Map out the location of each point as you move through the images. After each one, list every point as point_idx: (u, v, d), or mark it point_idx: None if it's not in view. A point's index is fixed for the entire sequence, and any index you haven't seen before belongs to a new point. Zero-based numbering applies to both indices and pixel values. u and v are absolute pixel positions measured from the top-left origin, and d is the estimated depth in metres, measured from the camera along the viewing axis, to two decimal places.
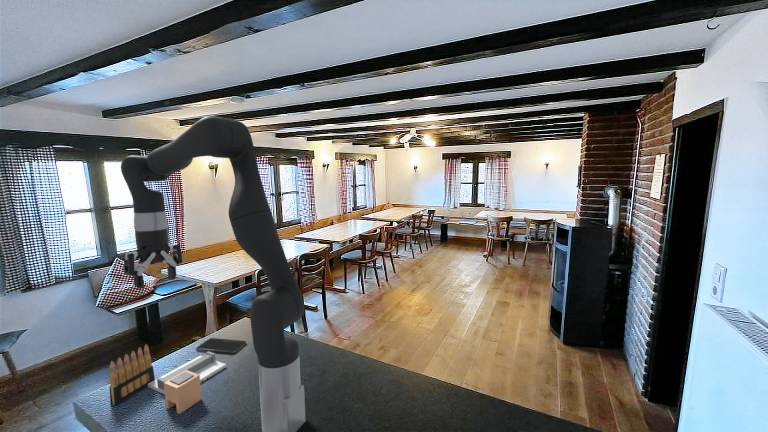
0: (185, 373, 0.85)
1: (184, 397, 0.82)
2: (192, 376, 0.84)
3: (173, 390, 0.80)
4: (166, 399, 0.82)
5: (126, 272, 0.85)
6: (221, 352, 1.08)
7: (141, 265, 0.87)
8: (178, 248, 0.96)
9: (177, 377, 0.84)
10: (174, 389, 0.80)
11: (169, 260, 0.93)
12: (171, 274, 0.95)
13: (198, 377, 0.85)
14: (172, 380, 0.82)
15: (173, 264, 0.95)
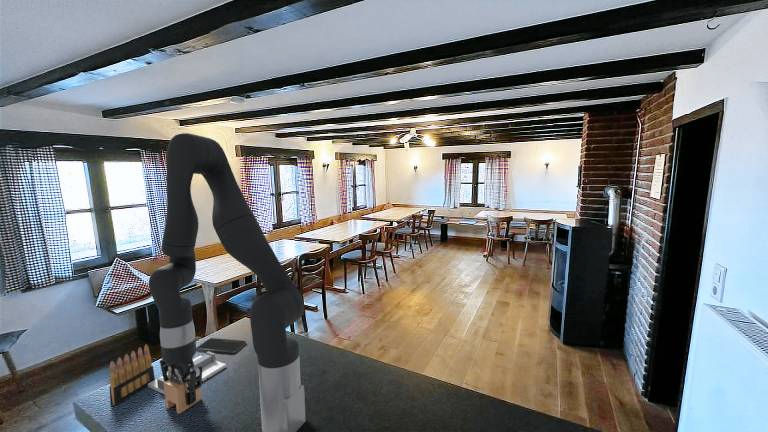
0: None
1: (184, 397, 0.82)
2: None
3: (173, 390, 0.80)
4: (166, 399, 0.82)
5: (195, 387, 0.81)
6: (221, 352, 1.08)
7: None
8: None
9: (177, 377, 0.84)
10: (174, 389, 0.80)
11: None
12: None
13: None
14: (172, 380, 0.82)
15: None
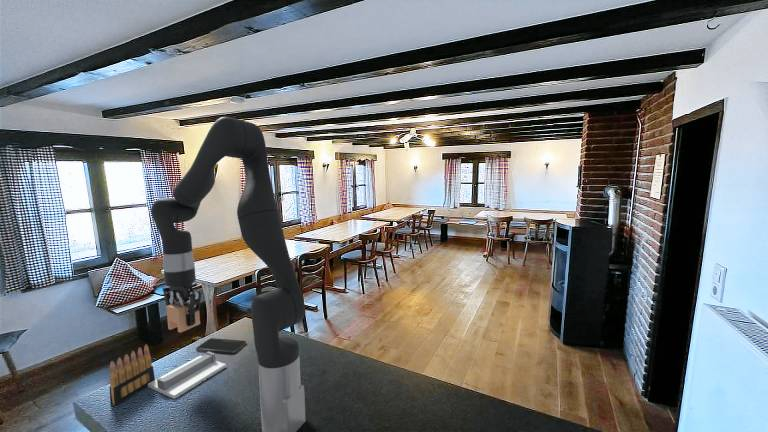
0: None
1: (184, 318, 0.91)
2: None
3: (175, 311, 0.90)
4: (168, 321, 0.92)
5: (195, 309, 0.90)
6: (221, 352, 1.08)
7: None
8: None
9: (178, 302, 0.93)
10: (176, 310, 0.90)
11: None
12: None
13: None
14: (174, 304, 0.92)
15: None
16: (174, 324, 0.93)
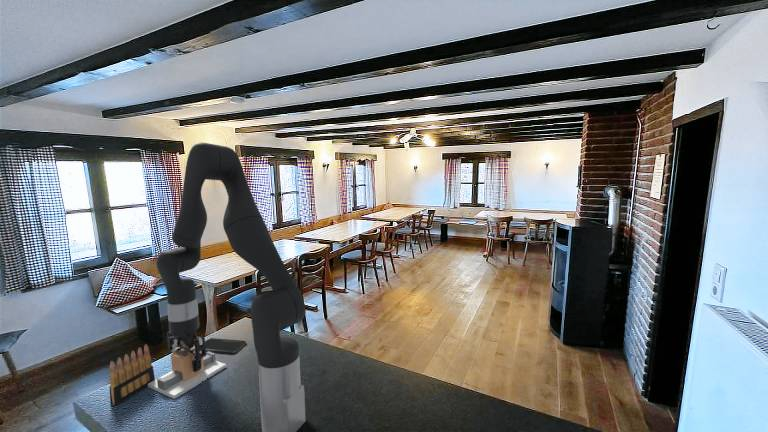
0: None
1: (189, 367, 0.93)
2: None
3: (179, 361, 0.92)
4: (173, 369, 0.94)
5: (201, 356, 0.92)
6: (221, 352, 1.08)
7: None
8: None
9: (182, 350, 0.95)
10: (180, 359, 0.91)
11: None
12: None
13: (201, 351, 0.96)
14: (178, 352, 0.94)
15: None
16: None
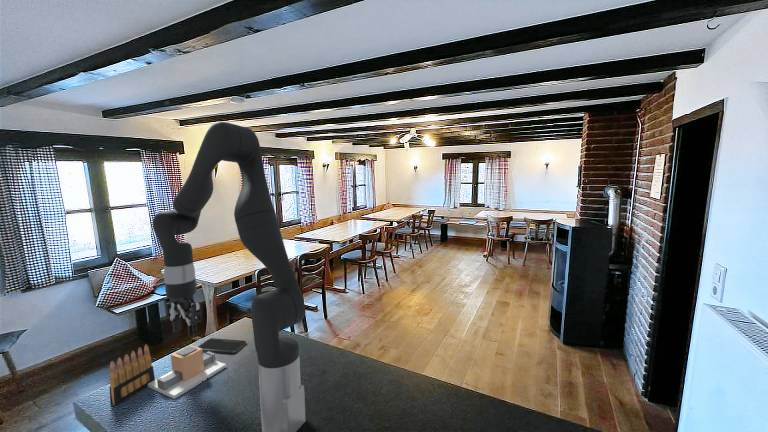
0: (189, 347, 0.96)
1: (189, 367, 0.93)
2: (196, 349, 0.95)
3: (179, 361, 0.92)
4: (173, 369, 0.94)
5: (197, 321, 0.91)
6: (221, 352, 1.08)
7: None
8: None
9: (182, 350, 0.95)
10: (180, 359, 0.91)
11: None
12: (179, 325, 0.96)
13: (201, 351, 0.96)
14: (178, 352, 0.94)
15: None
16: None
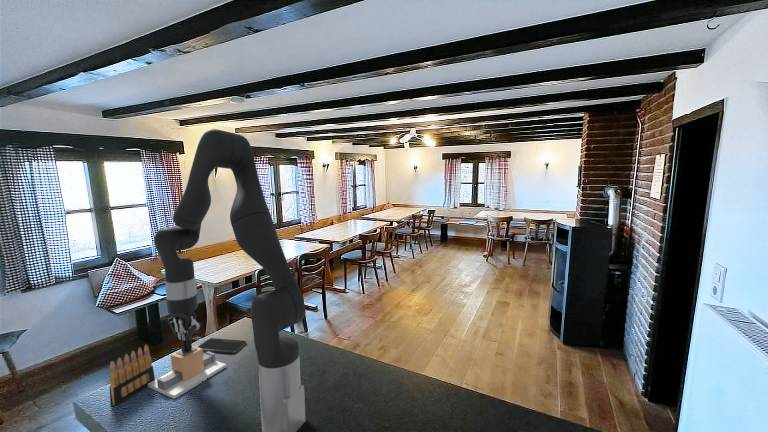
0: None
1: (189, 367, 0.93)
2: (196, 349, 0.95)
3: (179, 361, 0.92)
4: (173, 369, 0.94)
5: (191, 336, 0.93)
6: (221, 352, 1.08)
7: None
8: None
9: None
10: (180, 359, 0.91)
11: None
12: None
13: (201, 351, 0.96)
14: (178, 352, 0.94)
15: None
16: None
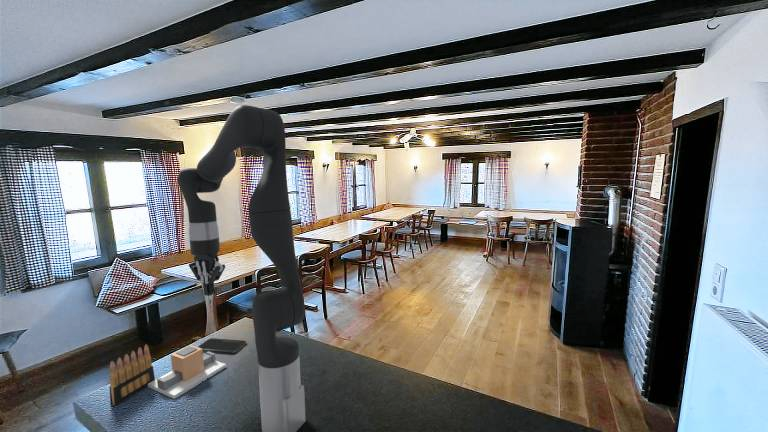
0: (189, 347, 0.96)
1: (189, 367, 0.93)
2: (196, 349, 0.95)
3: (179, 361, 0.92)
4: (173, 369, 0.94)
5: (214, 279, 0.93)
6: (221, 352, 1.08)
7: None
8: None
9: (182, 350, 0.95)
10: (180, 359, 0.91)
11: None
12: None
13: (201, 351, 0.96)
14: (178, 352, 0.94)
15: None
16: None
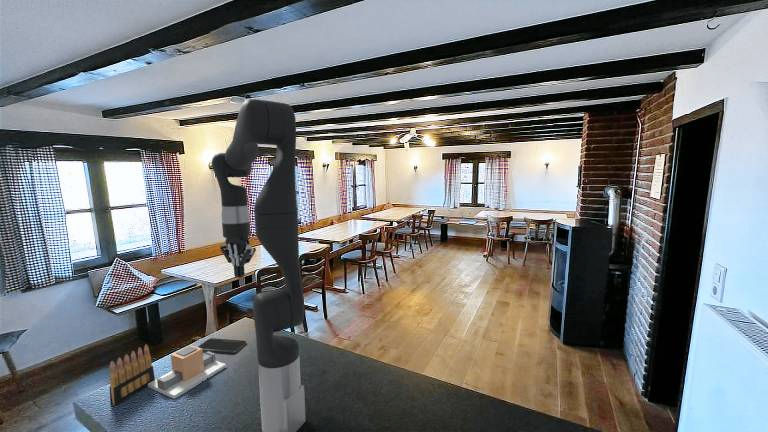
0: (189, 347, 0.96)
1: (189, 367, 0.93)
2: (196, 349, 0.95)
3: (179, 361, 0.92)
4: (173, 369, 0.94)
5: (245, 261, 0.95)
6: (221, 352, 1.08)
7: (244, 256, 0.97)
8: None
9: (182, 350, 0.95)
10: (180, 359, 0.91)
11: None
12: None
13: (201, 351, 0.96)
14: (178, 352, 0.94)
15: None
16: None
